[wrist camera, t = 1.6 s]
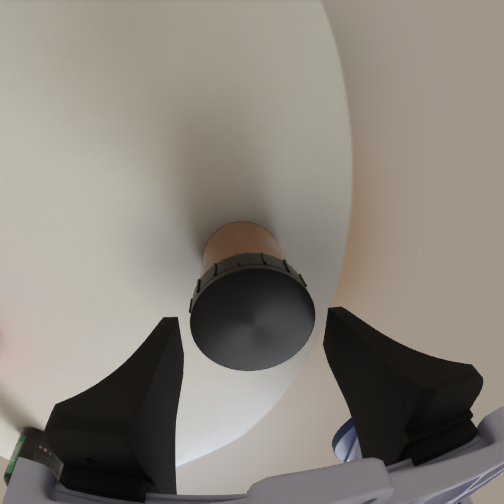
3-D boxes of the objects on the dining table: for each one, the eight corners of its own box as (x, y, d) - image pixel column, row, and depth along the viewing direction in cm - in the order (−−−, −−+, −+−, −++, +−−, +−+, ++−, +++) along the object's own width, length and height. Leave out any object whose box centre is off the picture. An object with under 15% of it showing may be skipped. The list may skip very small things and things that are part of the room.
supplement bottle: (14, 421, 25) (-15, 491, 14) (56, 433, 26) (31, 512, 15) (35, 450, 28) (14, 514, 17) (74, 461, 29) (58, 531, 18)
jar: (278, 290, 21) (302, 356, 15) (205, 294, 21) (201, 363, 14) (280, 220, 19) (311, 265, 13) (200, 223, 19) (191, 271, 13)
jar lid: (302, 345, 16) (309, 365, 15) (197, 352, 16) (196, 374, 14) (310, 248, 14) (321, 264, 12) (186, 254, 14) (182, 270, 12)
